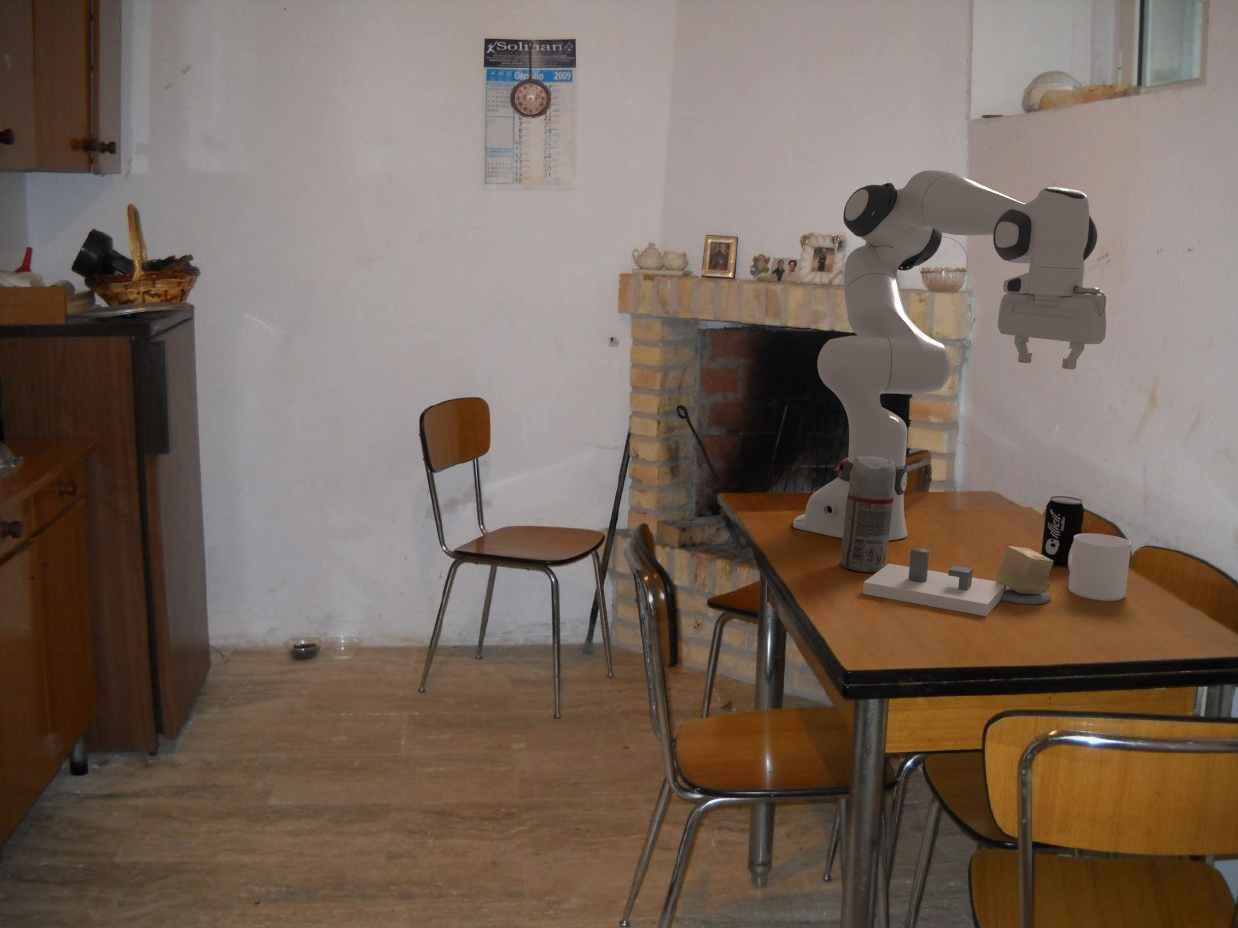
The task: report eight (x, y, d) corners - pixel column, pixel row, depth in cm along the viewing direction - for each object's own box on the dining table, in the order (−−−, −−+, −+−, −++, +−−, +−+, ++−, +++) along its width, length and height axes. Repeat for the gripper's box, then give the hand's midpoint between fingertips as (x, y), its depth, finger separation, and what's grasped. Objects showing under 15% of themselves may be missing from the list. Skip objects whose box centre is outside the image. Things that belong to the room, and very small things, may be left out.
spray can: (890, 564, 217) (899, 455, 213) (885, 576, 209) (894, 463, 205) (843, 558, 219) (851, 451, 215) (836, 570, 212) (844, 458, 208)
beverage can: (1080, 568, 219) (1088, 504, 217) (1043, 565, 220) (1050, 501, 218) (1074, 559, 225) (1082, 496, 223) (1038, 556, 227) (1045, 494, 224)
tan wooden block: (1019, 593, 196) (1032, 558, 195) (995, 579, 201) (1007, 545, 199) (1056, 595, 201) (1068, 562, 200) (1031, 582, 206) (1044, 549, 204)
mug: (1135, 601, 200) (1142, 547, 198) (1084, 601, 199) (1090, 546, 197) (1099, 580, 212) (1105, 529, 210) (1050, 580, 211) (1056, 528, 209)
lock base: (862, 593, 198) (866, 552, 197) (887, 574, 210) (891, 535, 209) (986, 616, 189) (990, 573, 187) (1005, 594, 201) (1009, 554, 199)
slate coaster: (981, 597, 199) (981, 593, 198) (994, 583, 207) (995, 579, 207) (1044, 608, 194) (1044, 604, 194) (1055, 593, 202) (1055, 590, 202)
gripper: (1119, 288, 197) (1109, 372, 200) (1020, 282, 215) (1012, 359, 217) (1094, 288, 194) (1084, 373, 197) (996, 281, 211) (988, 359, 214)
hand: (1046, 365), depth 207 cm, fingers open, 8 cm apart
